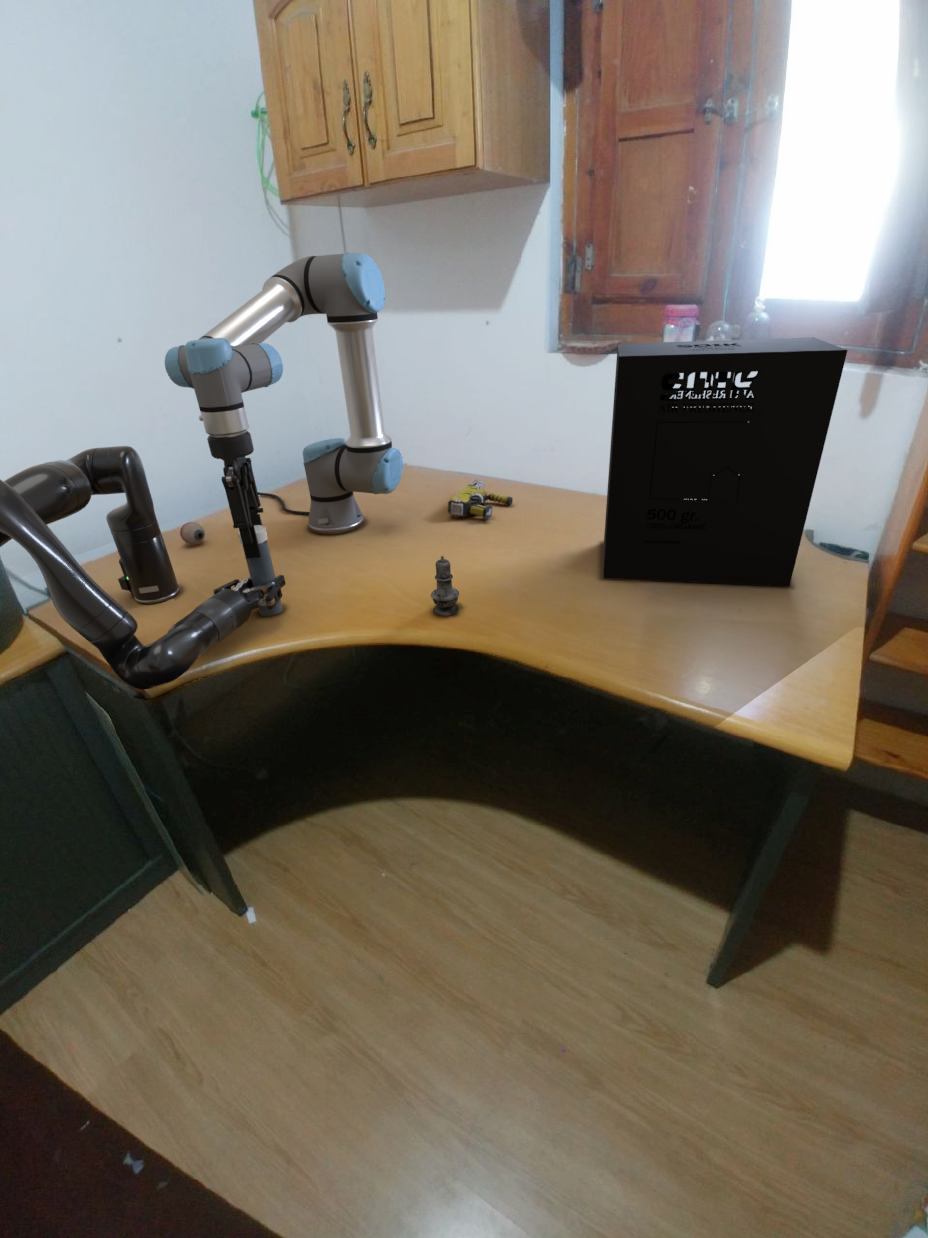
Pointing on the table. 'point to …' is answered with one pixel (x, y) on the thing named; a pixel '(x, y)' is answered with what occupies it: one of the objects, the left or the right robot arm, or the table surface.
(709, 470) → the cardboard box
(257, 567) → the bottle
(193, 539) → the eyeball
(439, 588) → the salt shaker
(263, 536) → the white cylinder
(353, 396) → the right robot arm
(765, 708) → the table surface
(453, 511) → the toy gun
